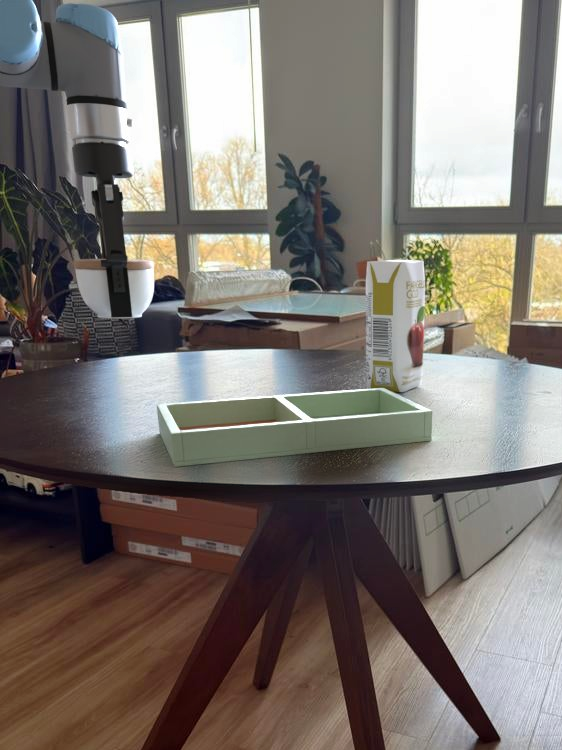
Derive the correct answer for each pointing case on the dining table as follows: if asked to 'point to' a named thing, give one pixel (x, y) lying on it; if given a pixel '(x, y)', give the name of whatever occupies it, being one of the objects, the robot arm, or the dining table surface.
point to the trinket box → (96, 285)
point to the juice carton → (395, 324)
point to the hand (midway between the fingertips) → (119, 313)
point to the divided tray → (289, 425)
